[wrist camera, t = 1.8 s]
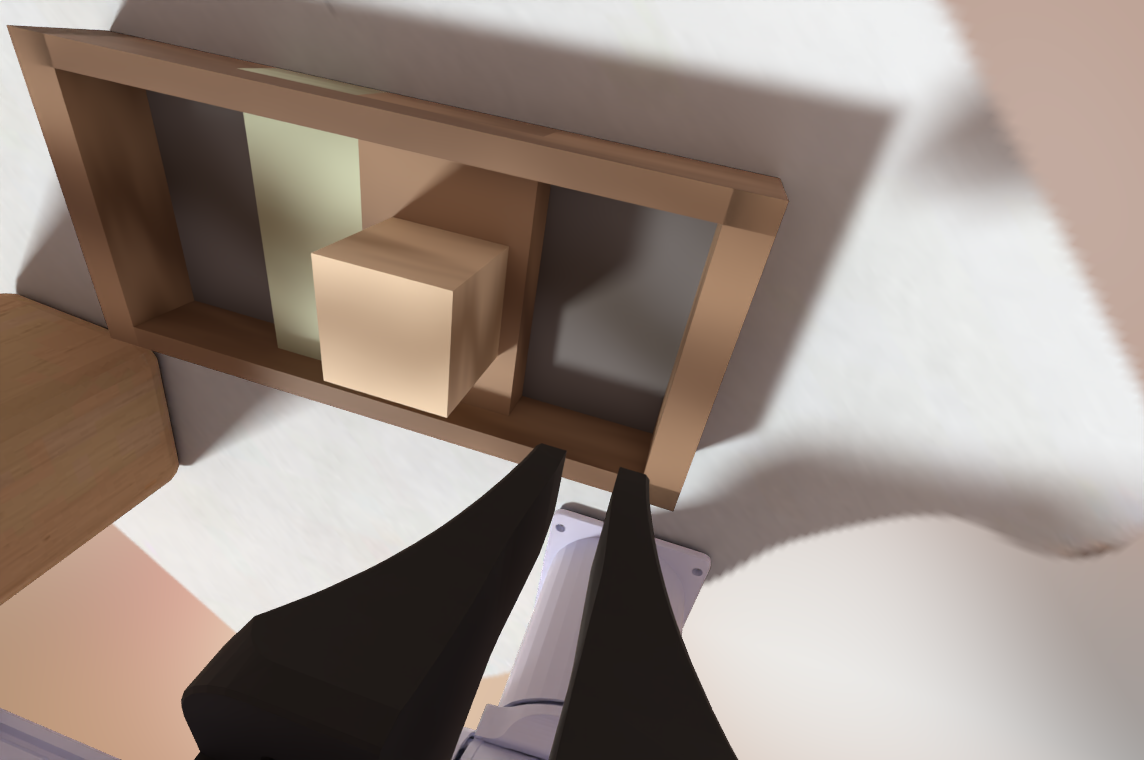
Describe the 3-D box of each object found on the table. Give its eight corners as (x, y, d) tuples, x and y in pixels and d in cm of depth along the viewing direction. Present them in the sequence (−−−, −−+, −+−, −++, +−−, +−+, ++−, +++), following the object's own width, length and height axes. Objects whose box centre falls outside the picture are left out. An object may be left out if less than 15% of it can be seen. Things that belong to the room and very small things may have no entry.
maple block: (497, 355, 21) (446, 418, 18) (394, 326, 22) (323, 380, 18) (509, 246, 19) (453, 291, 15) (392, 216, 20) (311, 252, 16)
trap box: (680, 456, 24) (673, 511, 21) (177, 308, 27) (111, 337, 24) (780, 178, 18) (788, 201, 15) (107, 30, 21) (6, 25, 18)
